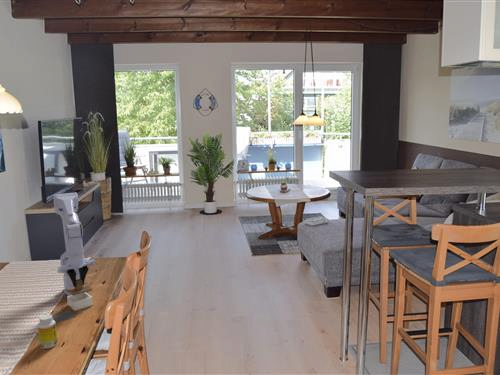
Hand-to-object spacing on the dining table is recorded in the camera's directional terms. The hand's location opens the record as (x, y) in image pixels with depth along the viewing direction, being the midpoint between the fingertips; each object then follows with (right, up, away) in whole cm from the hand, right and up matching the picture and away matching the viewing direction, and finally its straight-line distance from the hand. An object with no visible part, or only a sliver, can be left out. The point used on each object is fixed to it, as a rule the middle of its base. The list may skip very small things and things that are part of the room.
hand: (78, 285), depth 185 cm
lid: (0, -2, 0) cm, 2 cm away
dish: (0, -9, +1) cm, 9 cm away
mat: (-3, -10, -8) cm, 14 cm away
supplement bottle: (+1, -14, -30) cm, 33 cm away
